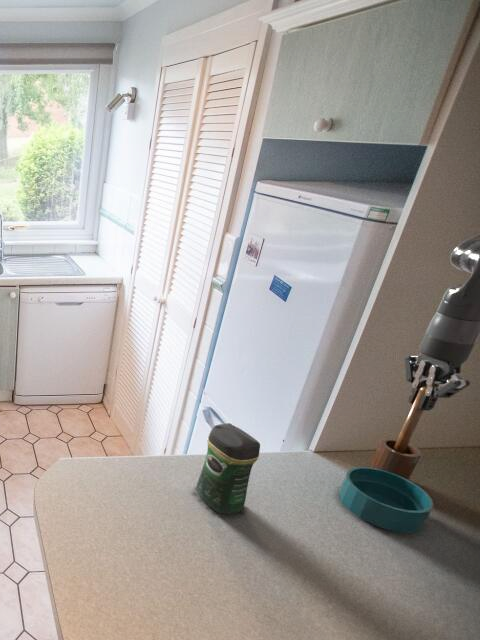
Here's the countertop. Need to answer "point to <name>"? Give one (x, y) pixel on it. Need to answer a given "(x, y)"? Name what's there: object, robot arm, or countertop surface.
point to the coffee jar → (227, 468)
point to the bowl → (385, 499)
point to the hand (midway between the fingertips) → (419, 406)
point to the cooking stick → (410, 423)
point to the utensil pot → (395, 458)
